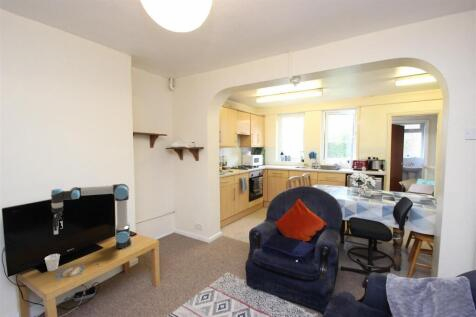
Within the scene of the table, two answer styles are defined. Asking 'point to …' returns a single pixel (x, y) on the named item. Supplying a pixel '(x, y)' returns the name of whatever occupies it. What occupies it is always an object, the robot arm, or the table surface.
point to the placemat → (66, 269)
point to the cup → (52, 261)
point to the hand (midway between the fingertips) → (58, 231)
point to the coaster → (71, 272)
